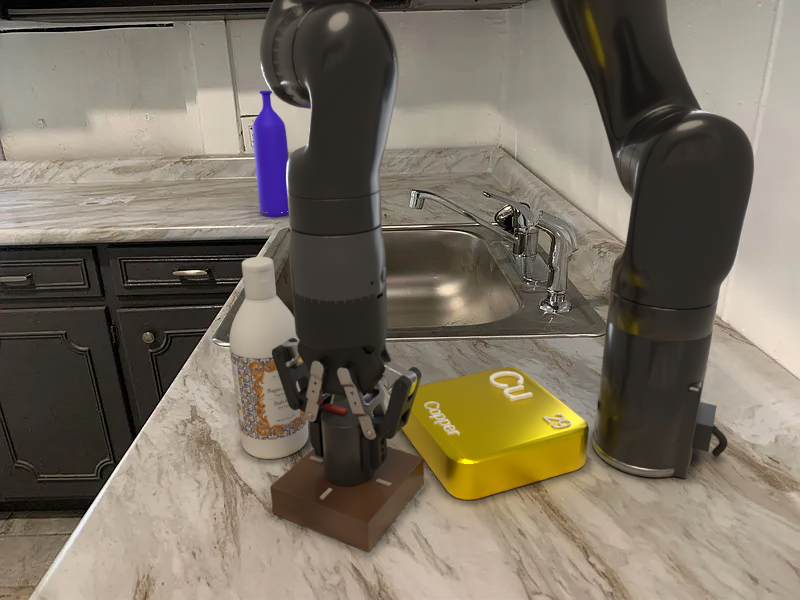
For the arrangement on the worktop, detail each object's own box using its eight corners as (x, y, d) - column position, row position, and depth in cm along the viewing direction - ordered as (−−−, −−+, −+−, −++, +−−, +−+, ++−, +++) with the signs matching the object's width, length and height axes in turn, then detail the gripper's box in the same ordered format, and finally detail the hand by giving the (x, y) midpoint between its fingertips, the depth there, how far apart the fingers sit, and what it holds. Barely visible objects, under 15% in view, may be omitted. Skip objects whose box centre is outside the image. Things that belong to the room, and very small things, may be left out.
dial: (382, 464, 58) (380, 404, 55) (356, 492, 54) (353, 429, 52) (342, 451, 60) (339, 393, 57) (314, 477, 56) (310, 416, 54)
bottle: (277, 208, 168) (266, 89, 157) (299, 212, 163) (290, 90, 152) (253, 214, 162) (240, 91, 151) (276, 218, 157) (264, 92, 146)
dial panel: (424, 484, 60) (424, 455, 59) (368, 553, 52) (367, 521, 50) (336, 455, 64) (334, 428, 63) (272, 514, 56) (269, 484, 55)
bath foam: (257, 470, 62) (234, 278, 55) (232, 437, 68) (209, 258, 60) (320, 446, 66) (307, 263, 58) (292, 417, 71) (277, 246, 64)
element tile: (395, 423, 70) (394, 384, 68) (513, 395, 75) (515, 359, 73) (456, 507, 57) (457, 462, 55) (594, 466, 62) (599, 424, 60)
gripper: (238, 280, 50) (259, 460, 57) (394, 311, 44) (398, 510, 50) (296, 255, 57) (309, 420, 63) (440, 278, 50) (439, 460, 56)
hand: (349, 459), depth 56 cm, fingers closed on dial, 4 cm apart
